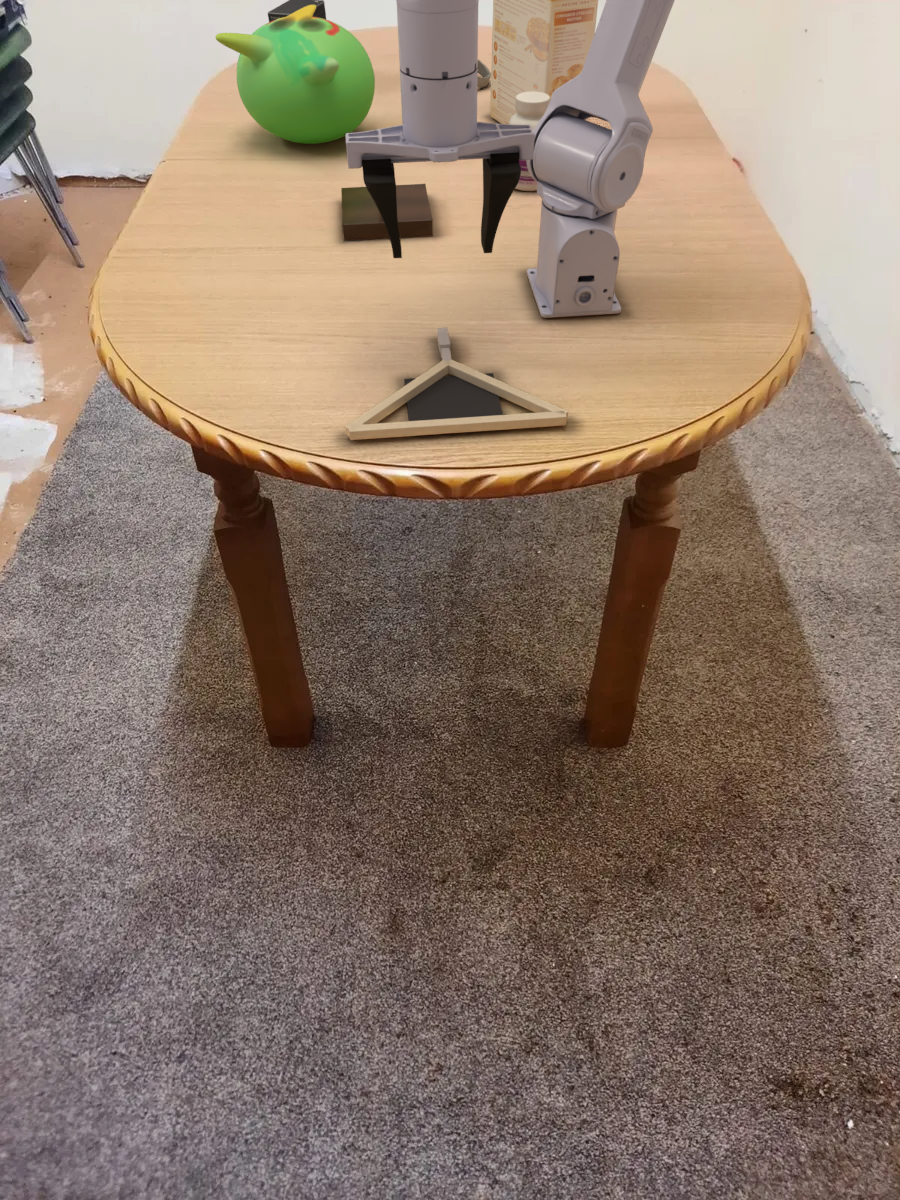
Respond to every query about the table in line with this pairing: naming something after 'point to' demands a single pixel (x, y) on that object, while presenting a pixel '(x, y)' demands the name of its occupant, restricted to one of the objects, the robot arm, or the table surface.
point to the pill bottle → (531, 112)
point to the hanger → (369, 429)
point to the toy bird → (303, 77)
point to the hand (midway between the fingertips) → (441, 250)
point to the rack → (367, 221)
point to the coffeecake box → (537, 48)
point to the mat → (452, 400)
